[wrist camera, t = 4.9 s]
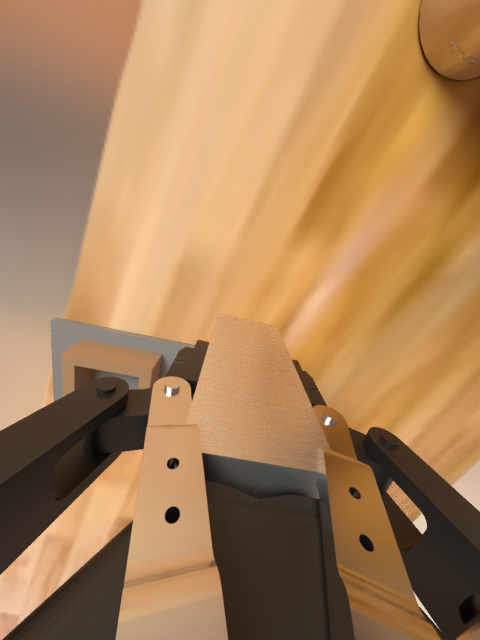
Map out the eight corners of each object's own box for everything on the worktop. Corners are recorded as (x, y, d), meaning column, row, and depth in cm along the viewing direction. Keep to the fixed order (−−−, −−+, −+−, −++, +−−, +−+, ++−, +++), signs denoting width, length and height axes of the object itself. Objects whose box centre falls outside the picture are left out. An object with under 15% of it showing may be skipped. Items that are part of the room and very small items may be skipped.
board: (56, 317, 25) (22, 331, 21) (244, 355, 27) (245, 373, 23) (59, 415, 30) (31, 442, 26) (221, 442, 32) (219, 470, 28)
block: (218, 313, 15) (178, 448, 5) (277, 326, 15) (342, 476, 5) (202, 388, 16) (152, 586, 7) (254, 398, 17) (273, 600, 7)
